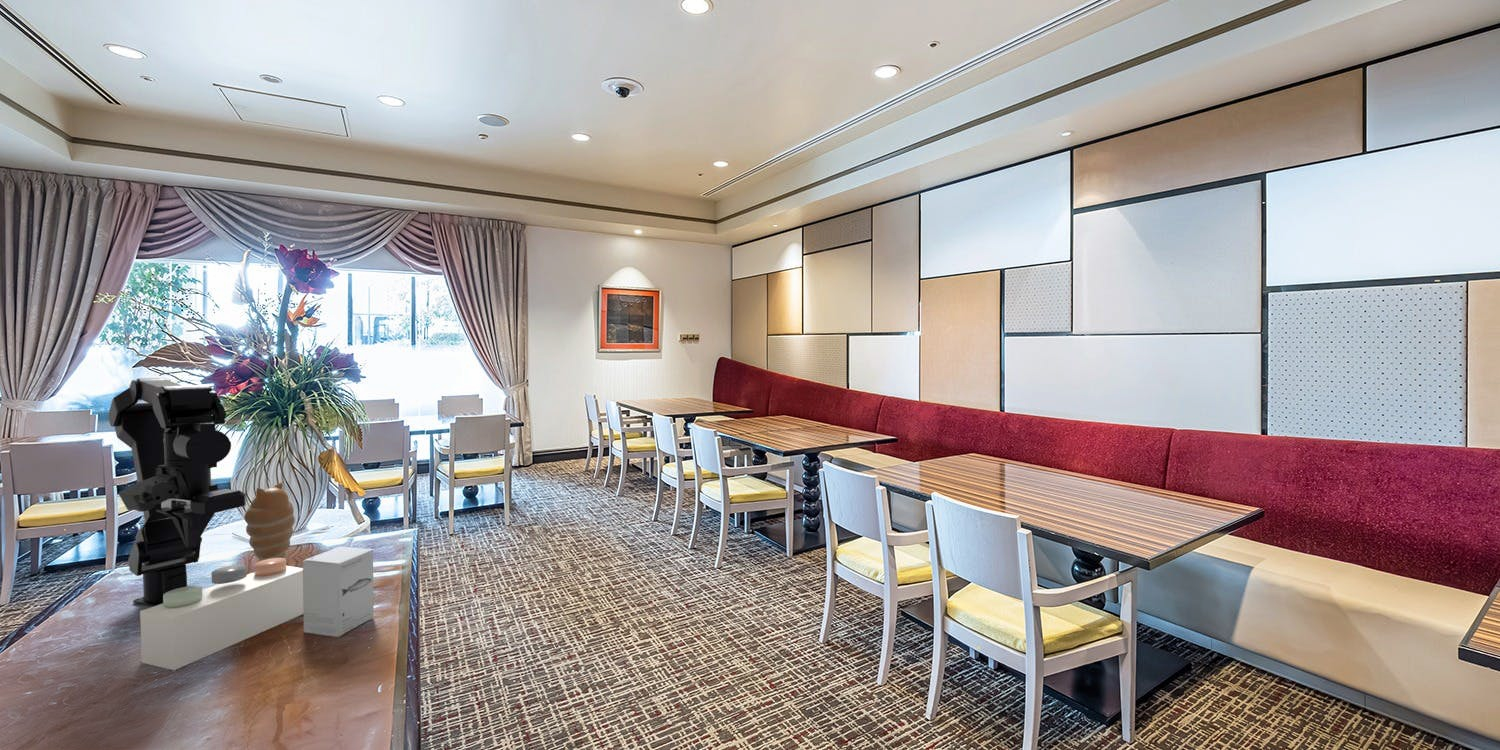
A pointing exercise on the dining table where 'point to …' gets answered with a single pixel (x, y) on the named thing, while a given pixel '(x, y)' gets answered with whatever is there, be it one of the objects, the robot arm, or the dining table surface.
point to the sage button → (182, 596)
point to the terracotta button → (270, 566)
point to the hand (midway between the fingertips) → (190, 546)
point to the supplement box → (338, 591)
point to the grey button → (229, 574)
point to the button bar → (220, 618)
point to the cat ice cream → (270, 523)
